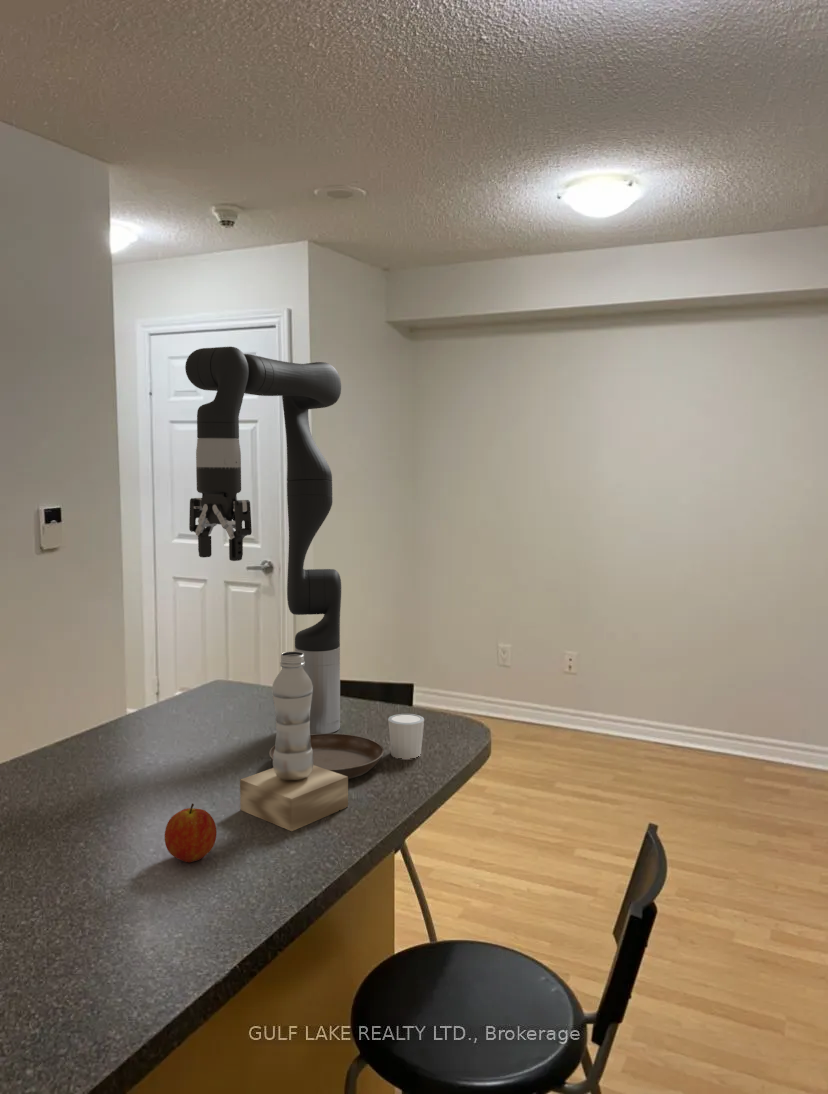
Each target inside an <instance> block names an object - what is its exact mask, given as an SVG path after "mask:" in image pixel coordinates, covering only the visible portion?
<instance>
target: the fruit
mask: <svg viewBox="0 0 828 1094" xmlns="http://www.w3.org/2000/svg"><path fill="white" fill-rule="evenodd" d="M190 805H191V806H190V807H189V808H187V807H186V808H184V809H182V810H180V811H178V812H176V813H175V814H173V815H172V816H171V817H170V818H169V820H168V821H167V824H166V826H165V830H164V844H165V848H166V850H167V851H168V853H169V854H170V855H171V856H172V857H174V858H176V859H178V860H180V861H182V862H184V863H189V864H190V863H192V862H196V861H197V862H198V861H199V860H201V859H203V858H204V857H205V856H207V855H208V854H209V853H210V852H211V851H212V849H213V847H214V846H215V844H216V840H217V832H218V831H217V826H216V823H215V820H214V818H213V817H212V815H211V814H210V813H209V812H208V811H206V810H204V809H202V808H194V803H191V804H190Z"/></svg>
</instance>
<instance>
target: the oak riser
mask: <svg viewBox="0 0 828 1094" xmlns="http://www.w3.org/2000/svg"><path fill="white" fill-rule="evenodd" d="M239 792H240V793H239V795H240V797H239V799H240V806H239V807H240V811H241V812H243V813H247V814H249V815H252V816H253V817H256V818H259V819H262V820H264V821H265V822H268V823H271V824H273V825H275V826H278V827H280V828H282V829H284V830H287V831H290V832H294V831H296V830H298V829H300V828H303V827H306V826H307V825H309V824H312V823H315V822H317V821H319V820H321V819H324V818H325V817H328V816H331V815H332V814H335V813H337V812H339V810H340V811H341V810H344V809H346V807H347V808H348V807H349V779H348V776H345V775H342V774H339V773H336V772H333V771H330V770H327V769H324V768H321V767H318V766H315V765H313V770H312V772H311V773H310V775H309V776H308V777H306V778H303V779H300V780H283V779H280V778H278V777H277V775H276V774H275V772H274V768H273V767H272V768H268V769H266V770H263V771H260V772H258V773H255V774H252V775H249V776H246V777H243V778H241V779H240V780H239Z"/></svg>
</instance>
